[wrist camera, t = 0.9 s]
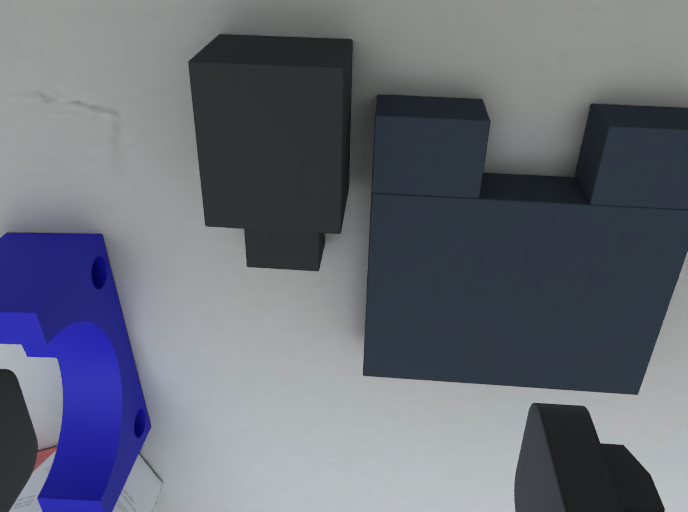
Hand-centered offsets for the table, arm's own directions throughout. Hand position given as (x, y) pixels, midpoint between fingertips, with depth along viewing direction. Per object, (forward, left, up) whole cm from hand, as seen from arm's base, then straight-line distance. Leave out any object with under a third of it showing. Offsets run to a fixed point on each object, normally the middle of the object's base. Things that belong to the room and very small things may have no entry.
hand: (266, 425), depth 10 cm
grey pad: (+6, +7, -17) cm, 19 cm away
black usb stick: (+2, -2, -17) cm, 17 cm away
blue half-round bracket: (+13, -13, -17) cm, 25 cm away
